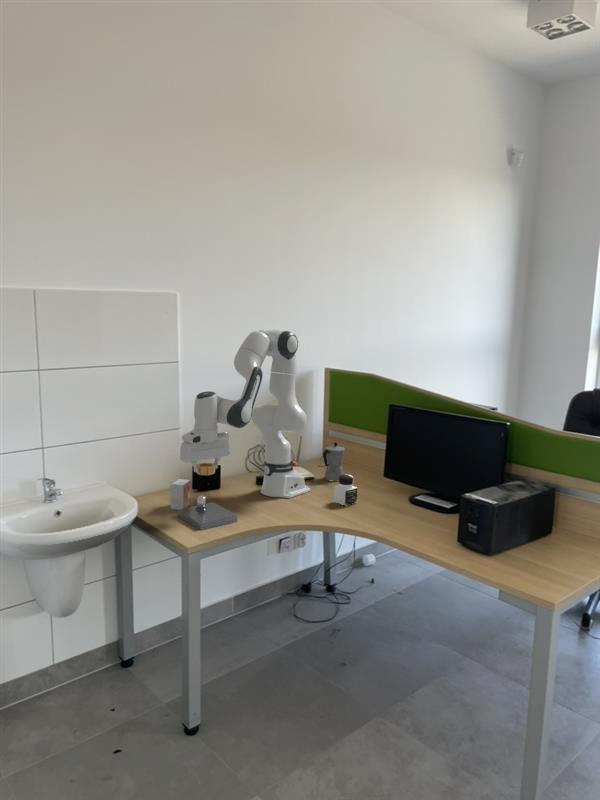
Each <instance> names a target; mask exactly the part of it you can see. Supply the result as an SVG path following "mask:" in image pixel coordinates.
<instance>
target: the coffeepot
mask: <svg viewBox="0 0 600 800" xmlns="http://www.w3.org/2000/svg"><path fill="white" fill-rule="evenodd" d="M333 444H334V445H331V446H330V445H329V446H327V447H326V448H325V449H324V450H323V453H322V457H323V461H324V466H325V467H326V470H325V474H324V479H325V478H326V479H327V480H326V479H325V480H326V481H328V480H333V481H332V482H338V481H337V480H339V476H340V475H344V470H343V465H342V463H343V462H344V457H345V451H346V448H345V446H338V442H333Z"/></svg>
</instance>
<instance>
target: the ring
mask: <svg viewBox="0 0 600 800" xmlns="http://www.w3.org/2000/svg"><path fill="white" fill-rule="evenodd" d="M196 466H197V467H199V472H196V474H197V475H199V476H211V475H214V474H215V473H216V469H215V464H214V463H212V462H201V463H197V464H196Z"/></svg>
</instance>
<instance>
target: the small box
mask: <svg viewBox="0 0 600 800" xmlns="http://www.w3.org/2000/svg"><path fill="white" fill-rule="evenodd" d="M191 483H192V482H191V480H190V479H183V478H178V479H176V480H175V481H174V482H172V483H170V510H174V511H175V510H176V511H177V510H178V509H183V508H188V507H190V505H191V495H192V494H191V493H192V492H191V491H192V490H191Z"/></svg>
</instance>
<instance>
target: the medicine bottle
mask: <svg viewBox="0 0 600 800" xmlns="http://www.w3.org/2000/svg"><path fill="white" fill-rule="evenodd" d="M357 500H358V487H357V486H354V477H353V475H350V474H346V473H345V474H344V473H343V475H340V476H339V481H338V485H334V487H333V502H334V503H335V502H337V503H340V504H342V505H341V506H343V505H349V504H352V503H355V502H358V501H357ZM337 503H336V504H337ZM340 504H339V505H340ZM352 505H353V504H352ZM349 506H350V505H349Z"/></svg>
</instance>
